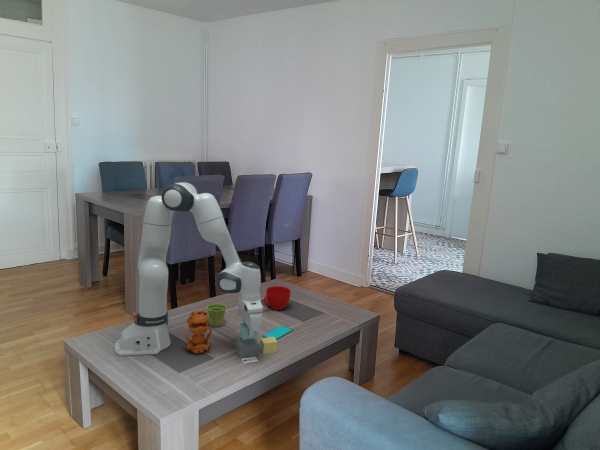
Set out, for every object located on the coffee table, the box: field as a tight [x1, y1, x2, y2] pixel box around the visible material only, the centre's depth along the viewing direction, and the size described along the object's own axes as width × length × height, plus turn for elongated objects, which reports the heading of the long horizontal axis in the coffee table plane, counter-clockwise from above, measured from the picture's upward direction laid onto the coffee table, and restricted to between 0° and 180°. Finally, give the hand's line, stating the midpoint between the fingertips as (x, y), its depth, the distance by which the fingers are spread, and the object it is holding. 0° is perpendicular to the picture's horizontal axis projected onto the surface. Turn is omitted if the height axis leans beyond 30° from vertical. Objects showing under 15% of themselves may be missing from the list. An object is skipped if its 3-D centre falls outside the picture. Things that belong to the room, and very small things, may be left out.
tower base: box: [235, 337, 261, 359], centre depth 185 cm, size 8×8×5 cm
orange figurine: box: [184, 310, 213, 354], centre depth 183 cm, size 11×11×18 cm
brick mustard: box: [259, 337, 278, 355], centre depth 187 cm, size 6×5×5 cm
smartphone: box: [262, 325, 294, 341], centre depth 205 cm, size 7×1×15 cm
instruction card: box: [241, 356, 259, 364], centre depth 179 cm, size 6×4×1 cm, turn 113°
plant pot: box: [206, 303, 228, 328], centre depth 211 cm, size 9×9×9 cm
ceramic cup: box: [263, 285, 291, 311], centre depth 234 cm, size 13×17×10 cm
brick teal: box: [239, 322, 259, 340], centre depth 183 cm, size 6×5×5 cm
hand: (248, 332), depth 184 cm, fingers closed on brick teal, 5 cm apart
